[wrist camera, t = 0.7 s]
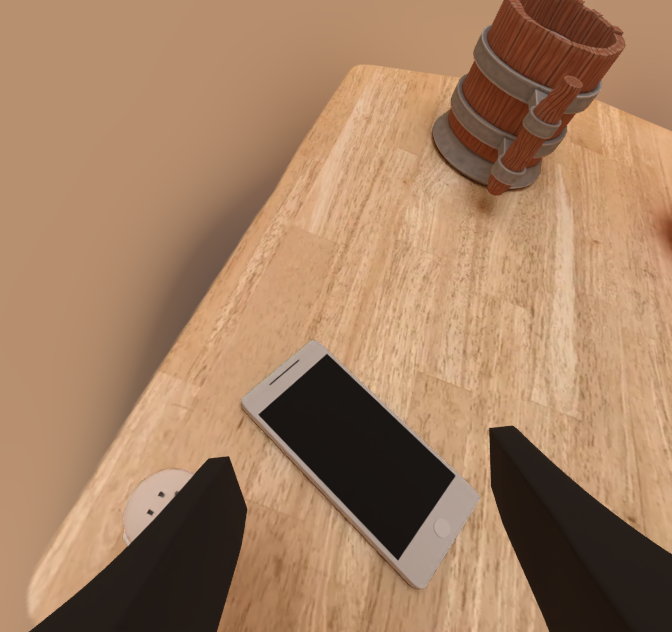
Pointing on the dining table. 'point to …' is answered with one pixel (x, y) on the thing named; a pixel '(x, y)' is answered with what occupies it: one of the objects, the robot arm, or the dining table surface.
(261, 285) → the dining table surface
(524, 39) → the mug
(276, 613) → the dining table surface
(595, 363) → the dining table surface
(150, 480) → the salt shaker
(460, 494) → the smartphone
